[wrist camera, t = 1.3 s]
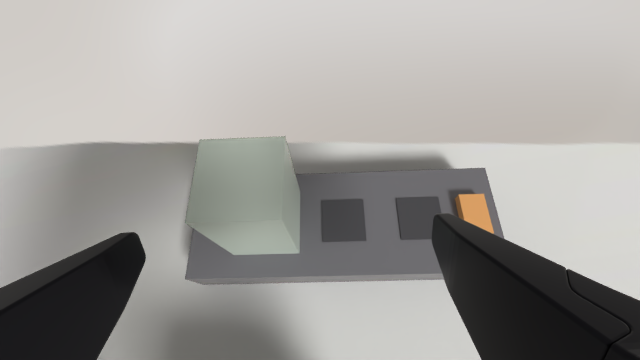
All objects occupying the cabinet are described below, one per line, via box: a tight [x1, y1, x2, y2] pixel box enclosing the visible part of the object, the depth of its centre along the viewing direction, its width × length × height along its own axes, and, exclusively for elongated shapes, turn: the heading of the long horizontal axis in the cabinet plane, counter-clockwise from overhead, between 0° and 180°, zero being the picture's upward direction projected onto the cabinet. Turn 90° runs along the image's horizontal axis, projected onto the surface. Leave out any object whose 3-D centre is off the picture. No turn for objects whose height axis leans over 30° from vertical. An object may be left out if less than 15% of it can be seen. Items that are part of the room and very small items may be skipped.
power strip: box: [185, 168, 504, 285], centre depth 21 cm, size 20×7×4 cm, turn 91°
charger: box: [185, 136, 300, 255], centre depth 18 cm, size 4×4×10 cm
